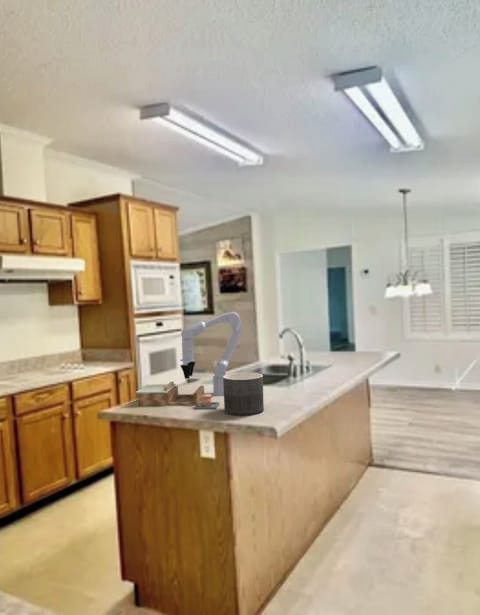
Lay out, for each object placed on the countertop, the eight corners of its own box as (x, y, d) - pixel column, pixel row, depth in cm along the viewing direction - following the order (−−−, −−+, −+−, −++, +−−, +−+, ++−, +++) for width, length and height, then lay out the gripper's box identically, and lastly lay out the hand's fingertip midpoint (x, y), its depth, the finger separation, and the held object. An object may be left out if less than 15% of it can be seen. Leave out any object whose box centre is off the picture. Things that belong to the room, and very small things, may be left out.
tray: (219, 404, 233) (219, 402, 233) (216, 409, 223) (216, 407, 223) (198, 404, 234) (198, 402, 234) (194, 409, 224) (194, 407, 224)
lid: (175, 385, 252) (175, 380, 252) (166, 393, 233) (166, 388, 233) (147, 385, 253) (146, 381, 253) (135, 393, 235) (135, 388, 235)
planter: (250, 417, 207) (249, 380, 207) (216, 413, 217) (215, 378, 216) (270, 408, 222) (269, 374, 222) (237, 404, 232) (236, 371, 231)
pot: (213, 404, 231) (213, 394, 231) (210, 407, 225) (209, 396, 225) (202, 404, 232) (202, 393, 232) (199, 407, 227) (198, 396, 226)
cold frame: (204, 397, 250) (203, 385, 250) (197, 405, 232) (196, 393, 232) (149, 397, 253) (149, 386, 253) (138, 406, 235) (138, 393, 235)
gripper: (183, 349, 262) (184, 374, 262) (176, 353, 247) (177, 379, 248) (196, 349, 261) (197, 374, 261) (190, 352, 247) (191, 379, 247)
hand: (188, 377), depth 255 cm, fingers open, 7 cm apart
